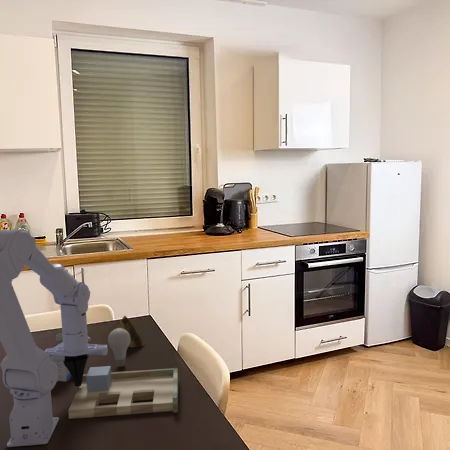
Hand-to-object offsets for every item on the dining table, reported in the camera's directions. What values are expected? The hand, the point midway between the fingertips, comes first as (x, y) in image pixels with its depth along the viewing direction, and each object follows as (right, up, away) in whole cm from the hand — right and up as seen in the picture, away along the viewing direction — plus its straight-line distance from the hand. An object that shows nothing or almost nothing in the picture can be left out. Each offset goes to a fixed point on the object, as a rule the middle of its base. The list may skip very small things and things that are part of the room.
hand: (78, 384), depth 112 cm
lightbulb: (+7, -1, +16) cm, 18 cm away
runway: (+12, -3, -2) cm, 13 cm away
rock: (+5, +1, +34) cm, 35 cm away
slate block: (+5, -1, +1) cm, 5 cm away
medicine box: (-7, -2, +12) cm, 14 cm away
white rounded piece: (-12, 0, +34) cm, 36 cm away
